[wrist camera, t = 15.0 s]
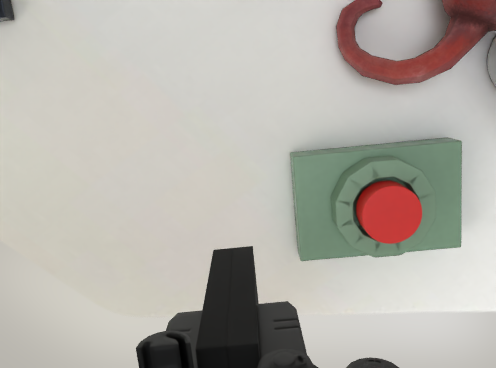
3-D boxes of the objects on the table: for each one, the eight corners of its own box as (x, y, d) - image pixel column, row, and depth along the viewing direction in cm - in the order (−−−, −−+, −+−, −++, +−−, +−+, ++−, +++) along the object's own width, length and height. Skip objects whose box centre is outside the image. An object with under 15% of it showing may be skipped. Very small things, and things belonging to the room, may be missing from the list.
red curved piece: (395, -80, 33) (326, 70, 35) (394, -140, 27) (311, 46, 29) (556, -38, 30) (472, 127, 31) (596, -95, 24) (490, 112, 25)
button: (357, 237, 31) (363, 246, 30) (354, 183, 31) (360, 188, 29) (413, 232, 31) (423, 241, 30) (412, 177, 31) (422, 183, 29)
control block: (297, 251, 36) (303, 271, 32) (290, 152, 34) (294, 160, 30) (448, 237, 35) (473, 256, 31) (448, 137, 34) (474, 143, 30)
